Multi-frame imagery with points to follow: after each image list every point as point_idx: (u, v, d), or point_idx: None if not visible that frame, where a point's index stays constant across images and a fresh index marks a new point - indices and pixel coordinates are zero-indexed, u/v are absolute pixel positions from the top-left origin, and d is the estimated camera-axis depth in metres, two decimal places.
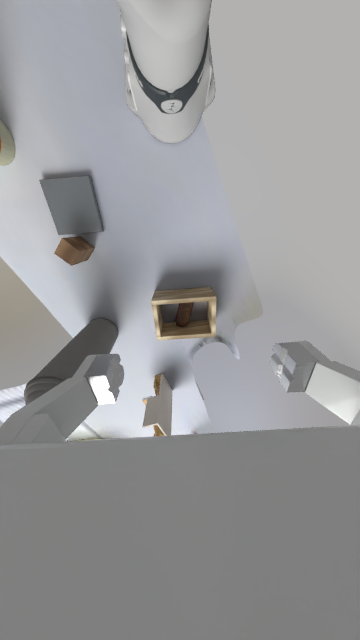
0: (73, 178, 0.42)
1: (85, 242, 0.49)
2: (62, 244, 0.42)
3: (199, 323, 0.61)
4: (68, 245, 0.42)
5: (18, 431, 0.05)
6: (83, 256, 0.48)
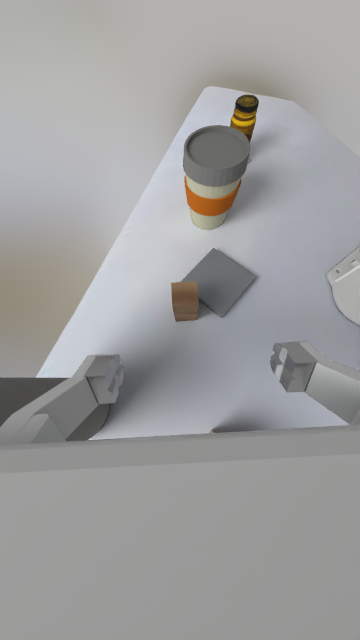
0: (241, 268, 0.40)
1: None
2: (189, 284, 0.31)
3: None
4: (195, 290, 0.30)
5: (18, 431, 0.05)
6: (185, 313, 0.34)
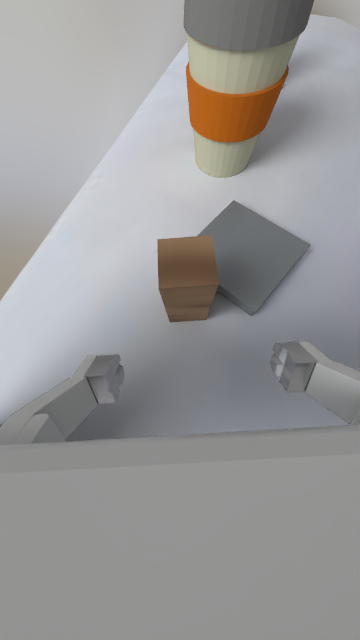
0: (283, 231, 0.23)
1: None
2: (196, 242, 0.14)
3: None
4: (210, 255, 0.14)
5: (18, 431, 0.05)
6: (187, 307, 0.17)
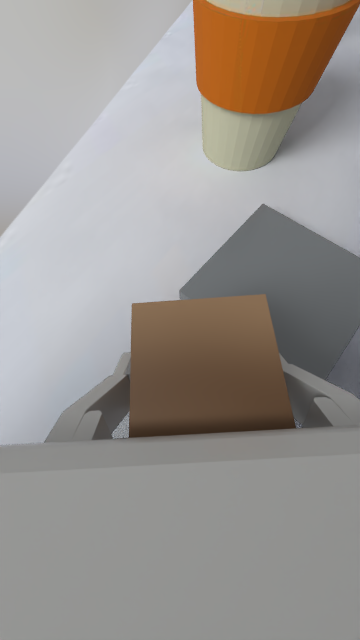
0: (345, 252, 0.15)
1: None
2: (228, 313, 0.06)
3: None
4: (266, 351, 0.05)
5: (75, 428, 0.05)
6: None
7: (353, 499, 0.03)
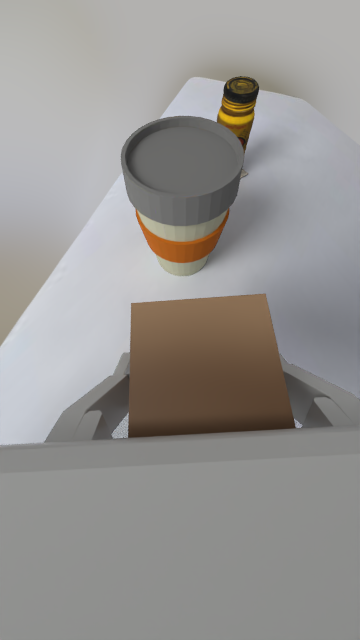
0: None
1: None
2: (228, 313, 0.06)
3: None
4: (266, 351, 0.05)
5: (75, 428, 0.05)
6: None
7: (353, 499, 0.03)
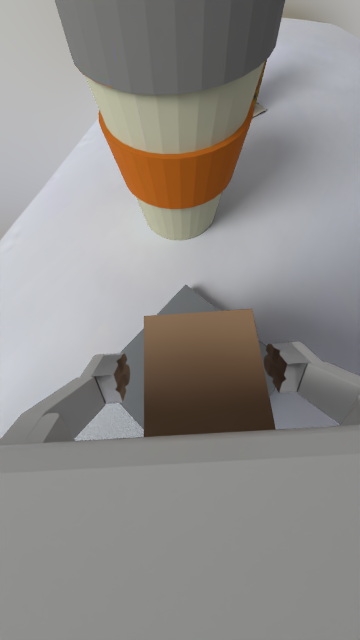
0: None
1: None
2: (221, 324, 0.07)
3: None
4: (251, 355, 0.07)
5: (29, 430, 0.05)
6: None
7: (353, 499, 0.03)
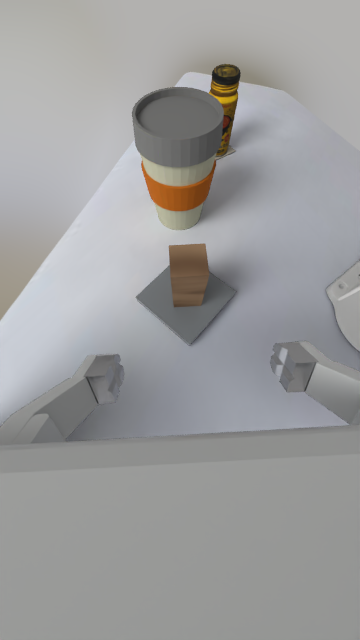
0: (217, 279, 0.30)
1: None
2: (194, 248, 0.21)
3: None
4: (203, 256, 0.21)
5: (18, 431, 0.05)
6: (187, 293, 0.24)
7: (353, 499, 0.03)
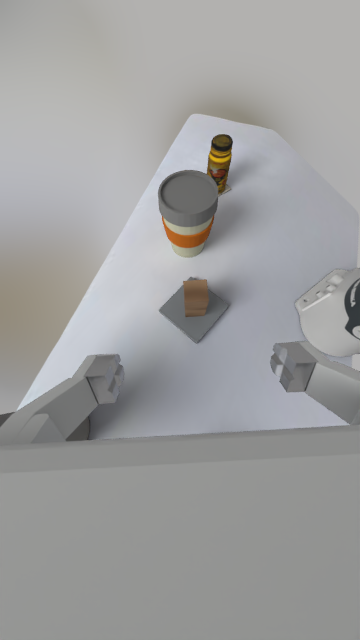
0: (216, 296, 0.43)
1: None
2: (199, 282, 0.34)
3: None
4: (205, 288, 0.33)
5: (18, 431, 0.05)
6: (195, 309, 0.37)
7: (353, 499, 0.03)
